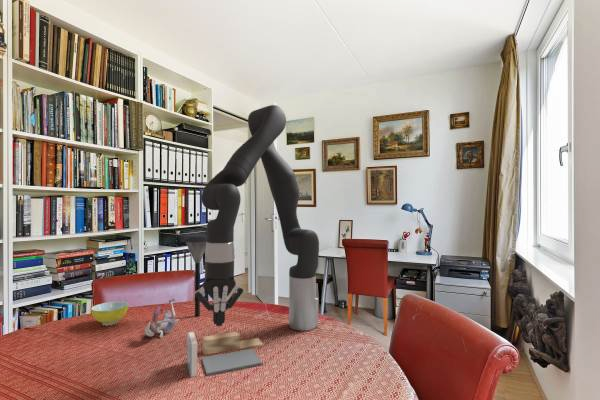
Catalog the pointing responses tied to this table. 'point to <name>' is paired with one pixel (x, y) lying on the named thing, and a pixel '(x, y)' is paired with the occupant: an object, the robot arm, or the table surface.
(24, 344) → the table surface
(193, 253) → the solar garden light
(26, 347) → the table surface
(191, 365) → the tile
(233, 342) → the beige wooden bar
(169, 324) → the figurine
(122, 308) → the bowl
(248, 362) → the mat
